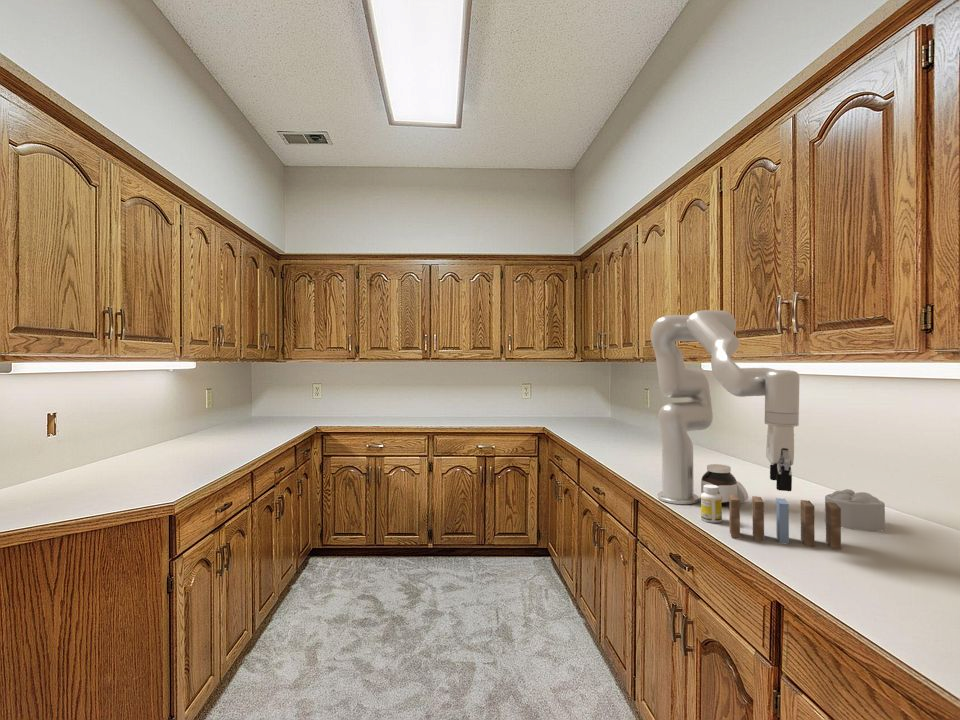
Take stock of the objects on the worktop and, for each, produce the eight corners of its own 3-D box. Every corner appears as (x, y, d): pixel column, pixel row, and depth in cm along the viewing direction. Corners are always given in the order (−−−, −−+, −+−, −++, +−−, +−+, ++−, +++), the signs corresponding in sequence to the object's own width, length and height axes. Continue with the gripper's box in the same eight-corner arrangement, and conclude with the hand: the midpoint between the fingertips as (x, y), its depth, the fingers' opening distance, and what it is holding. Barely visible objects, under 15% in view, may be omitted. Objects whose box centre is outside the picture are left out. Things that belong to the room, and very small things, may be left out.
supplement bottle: (720, 518, 150) (719, 484, 150) (723, 524, 145) (723, 489, 145) (699, 516, 151) (699, 483, 151) (702, 522, 146) (702, 488, 146)
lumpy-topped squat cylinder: (889, 532, 137) (889, 499, 136) (833, 528, 140) (832, 496, 140) (871, 519, 147) (871, 489, 146) (818, 516, 150) (818, 486, 150)
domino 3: (805, 545, 128) (805, 505, 128) (800, 538, 133) (800, 499, 133) (814, 546, 127) (814, 506, 127) (809, 539, 132) (809, 500, 132)
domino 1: (731, 538, 134) (731, 499, 134) (729, 531, 139) (729, 494, 139) (740, 538, 133) (739, 500, 133) (737, 532, 138) (737, 495, 138)
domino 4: (831, 548, 126) (831, 507, 126) (825, 541, 131) (825, 501, 131) (841, 549, 125) (840, 508, 125) (835, 542, 130) (835, 502, 130)
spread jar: (697, 501, 166) (697, 465, 166) (715, 495, 173) (715, 460, 173) (734, 510, 157) (734, 472, 157) (752, 503, 164) (752, 466, 163)
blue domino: (779, 543, 130) (779, 503, 130) (776, 536, 135) (776, 498, 135) (788, 543, 129) (788, 504, 129) (785, 537, 134) (785, 498, 134)
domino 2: (755, 540, 132) (755, 501, 132) (752, 533, 137) (752, 496, 137) (764, 541, 131) (763, 502, 131) (761, 534, 136) (760, 496, 136)
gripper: (759, 413, 141) (758, 475, 142) (770, 423, 125) (769, 493, 126) (791, 414, 138) (790, 477, 139) (806, 424, 122) (804, 496, 123)
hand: (780, 485), depth 132 cm, fingers open, 9 cm apart
